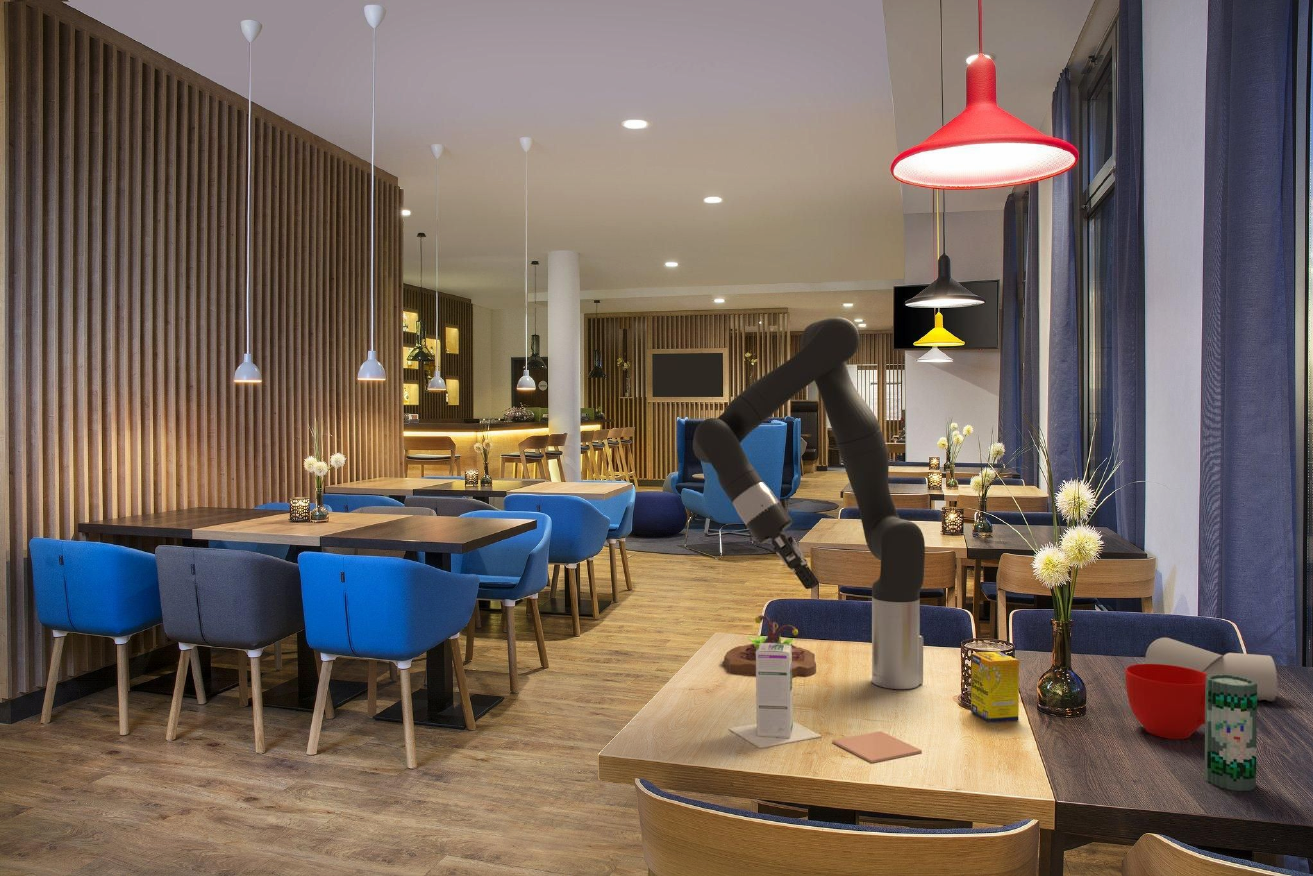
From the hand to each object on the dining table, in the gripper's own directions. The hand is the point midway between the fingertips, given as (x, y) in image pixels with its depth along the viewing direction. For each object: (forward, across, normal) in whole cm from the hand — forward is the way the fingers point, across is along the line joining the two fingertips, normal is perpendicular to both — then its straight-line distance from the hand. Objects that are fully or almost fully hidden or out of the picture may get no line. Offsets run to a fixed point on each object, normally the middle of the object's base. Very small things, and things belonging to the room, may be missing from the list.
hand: (813, 586), depth 165 cm
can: (+57, -14, -34) cm, 68 cm away
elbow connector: (+58, +36, -50) cm, 84 cm away
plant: (+8, +35, +20) cm, 41 cm away
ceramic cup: (+54, +6, -36) cm, 65 cm away
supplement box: (+36, +9, -13) cm, 40 cm away
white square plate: (+17, -8, +19) cm, 27 cm away
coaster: (+27, -11, +6) cm, 30 cm away
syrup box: (+16, -8, +19) cm, 26 cm away
